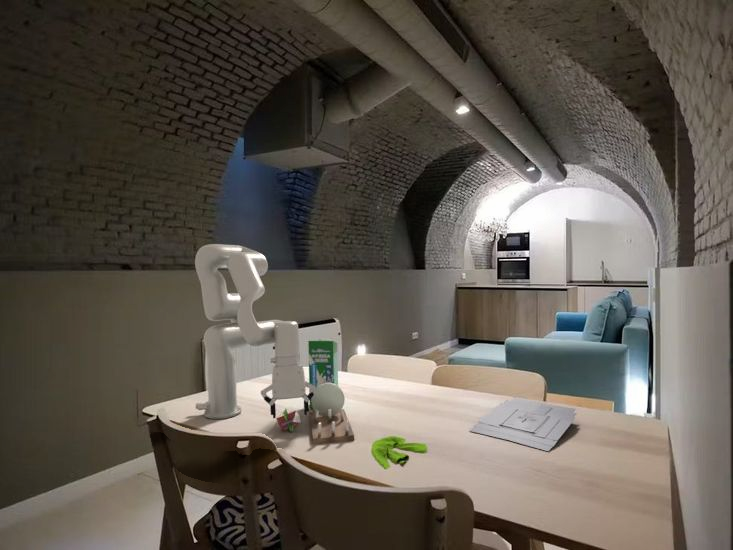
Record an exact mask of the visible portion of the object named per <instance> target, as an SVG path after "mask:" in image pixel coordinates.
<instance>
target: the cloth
mask: <svg viewBox="0 0 733 550" xmlns="http://www.w3.org/2000/svg"><path fill="white" fill-rule="evenodd" d="M406 440H407V439H406V438H404V437H401V436H395V435H389V436H387V437H386V436H385V437H383V438H380V439H377V440H375V441H373V442H372V445H371V455H372V456H373V458H374V459H375V460H376V462H377V463H378V464H379V465H380V466H381V467H382V468H383V469H385V470H386V469H390V467H391V465H390V463H389V461H390V462H391V463H393V464H395V465H396V464H397V463H398V464H399V465H401V466H402V467H405V465H404V463H408V461H409V460H410V456H409V455H408V454H406V453H405V452H406V451H407V452H412V453H416V454H417V453H419V454H427V453H428V449H427V443H419V442H406ZM393 449H397V450H400V451H405V452H404V453H403V452H398V451H397V450H393ZM388 460H389V461H388Z"/></svg>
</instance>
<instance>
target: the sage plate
mask: <svg viewBox="0 0 733 550" xmlns="http://www.w3.org/2000/svg"><path fill="white" fill-rule="evenodd" d="M311 403H312V407H313V409H314V410H313V411H316V410H319V415H320V416H323V417H328V409H331V416H334V415H336V414H337V413H339V412H340V411H341V408H343V407H344V405H345V394H344V392H343V389H342V388H341V387H340V386H339V385H338V386H337V385H335V384H333V383H324V384H321V385H320V386H318V387H317V389H316V391H315V393H314V396H313V397H312V398H311ZM343 409H344V408H343Z"/></svg>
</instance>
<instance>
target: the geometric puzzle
mask: <svg viewBox="0 0 733 550" xmlns="http://www.w3.org/2000/svg"><path fill="white" fill-rule="evenodd" d="M275 419H276V421H277V423H278V426H279V428H280V431H285V432H287V431H288V430H289V433H290V434H291V433H292V432H293V431H294V429H295V427H296V428H297V425H299V424H301V423H302V422H301V416H300V414H299V413H298V412H297V410H292V411H290V412H288V409H287V408H285V409H284V410H283V411H282V412H281V415H280V416H276V418H275ZM287 429H288V430H287Z"/></svg>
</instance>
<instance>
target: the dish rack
mask: <svg viewBox="0 0 733 550" xmlns="http://www.w3.org/2000/svg"><path fill="white" fill-rule="evenodd" d="M308 412H309V413H308V414H309V424H310V428H311V429H310V431H311V437H312V439H311V440H312V443H313V445H314V444H316V445H317V444H325V443H326V444H327V443H338V442H348V441H355V434H354V431H353V429H352V426H351V424H350V421H349V419H348V415H347V414H346V411H345V410H344V422H341V411H340V412H339V413H337V414H336V415H334V416H331V423H328V417H323V416H320V415H319V423H321V435H322V437H318V424H316V412H314V410H309V411H308ZM346 420H348V425H349V435H345V421H346ZM333 421H334V422H335V436H332V422H333Z"/></svg>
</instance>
